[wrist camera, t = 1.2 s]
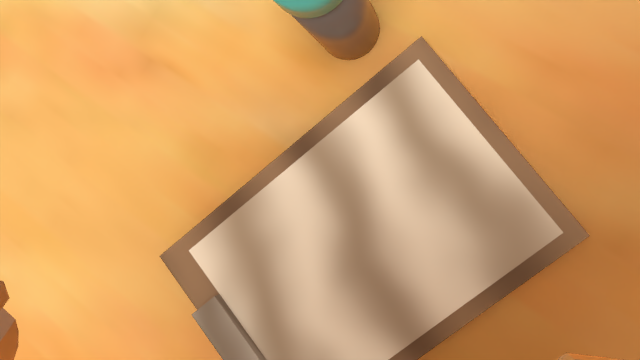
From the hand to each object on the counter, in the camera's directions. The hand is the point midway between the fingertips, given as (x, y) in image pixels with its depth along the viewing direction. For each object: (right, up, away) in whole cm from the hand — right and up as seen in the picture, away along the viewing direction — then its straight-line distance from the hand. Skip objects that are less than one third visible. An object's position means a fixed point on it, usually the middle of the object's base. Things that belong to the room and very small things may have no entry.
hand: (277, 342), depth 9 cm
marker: (+3, +12, +28) cm, 31 cm away
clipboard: (+3, -2, +28) cm, 28 cm away
